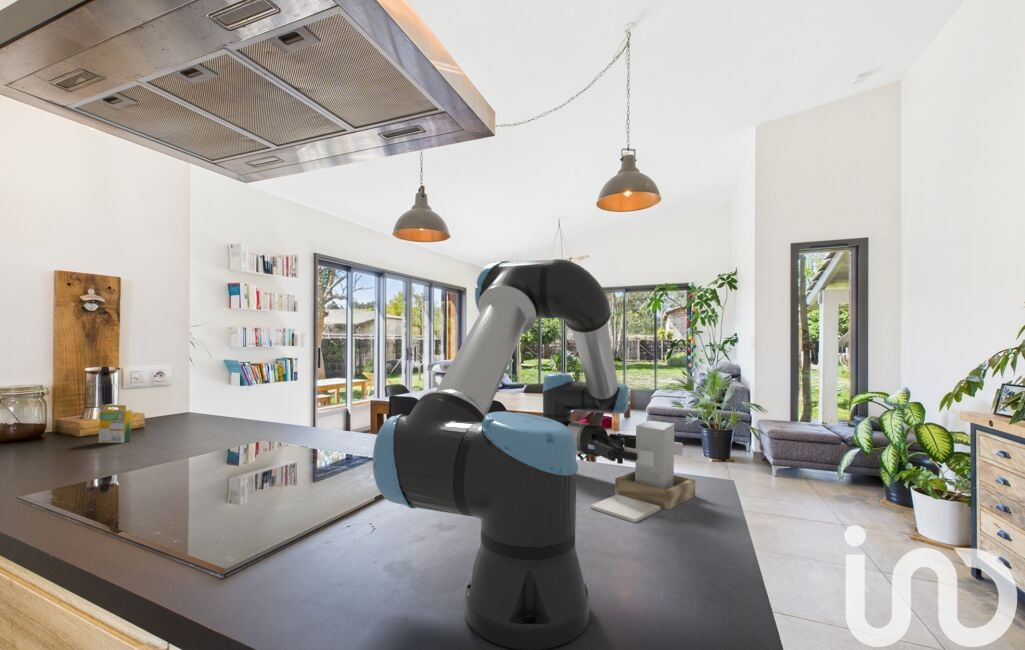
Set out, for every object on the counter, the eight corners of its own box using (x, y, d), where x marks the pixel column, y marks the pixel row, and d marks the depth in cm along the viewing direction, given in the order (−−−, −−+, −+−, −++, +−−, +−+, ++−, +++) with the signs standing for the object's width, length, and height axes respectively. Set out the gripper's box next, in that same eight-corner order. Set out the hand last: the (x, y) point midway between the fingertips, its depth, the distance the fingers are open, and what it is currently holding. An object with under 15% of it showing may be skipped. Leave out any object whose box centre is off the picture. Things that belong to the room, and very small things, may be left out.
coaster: (635, 522, 84) (635, 519, 84) (590, 508, 91) (590, 505, 91) (660, 509, 91) (660, 506, 91) (617, 497, 98) (617, 494, 98)
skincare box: (647, 487, 105) (647, 419, 106) (676, 493, 101) (676, 423, 102) (633, 497, 98) (634, 424, 99) (664, 503, 95) (664, 428, 95)
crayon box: (130, 441, 143) (132, 404, 144) (123, 443, 141) (125, 405, 141) (105, 441, 143) (107, 404, 143) (97, 443, 140) (100, 405, 140)
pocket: (669, 509, 91) (669, 491, 91) (615, 494, 100) (615, 478, 100) (695, 495, 100) (695, 479, 100) (643, 482, 109) (643, 468, 109)
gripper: (613, 446, 122) (692, 462, 107) (555, 462, 104) (639, 483, 89) (614, 418, 122) (692, 429, 107) (555, 429, 104) (639, 444, 90)
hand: (668, 454), depth 98 cm, fingers open, 13 cm apart
